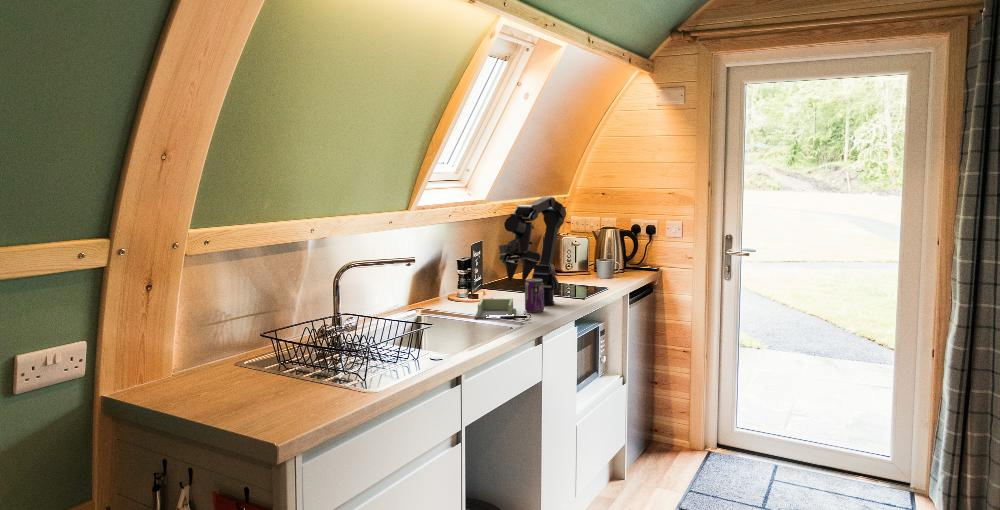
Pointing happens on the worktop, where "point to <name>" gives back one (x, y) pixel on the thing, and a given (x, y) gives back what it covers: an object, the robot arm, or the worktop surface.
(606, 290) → the worktop surface
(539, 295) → the beverage can
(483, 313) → the chute bracket
